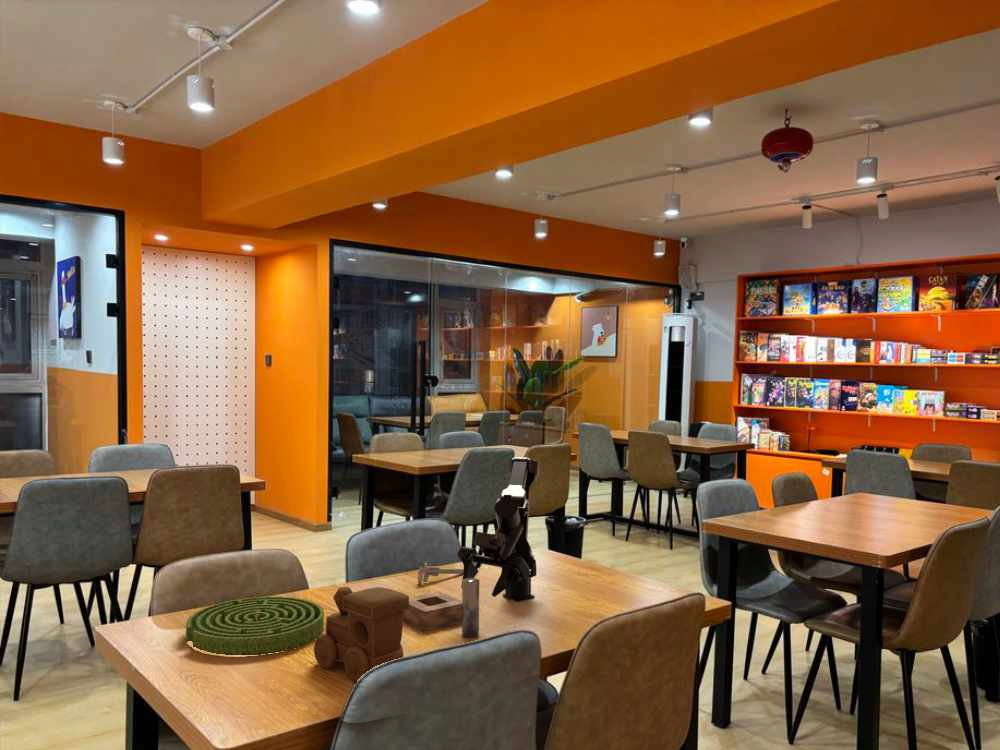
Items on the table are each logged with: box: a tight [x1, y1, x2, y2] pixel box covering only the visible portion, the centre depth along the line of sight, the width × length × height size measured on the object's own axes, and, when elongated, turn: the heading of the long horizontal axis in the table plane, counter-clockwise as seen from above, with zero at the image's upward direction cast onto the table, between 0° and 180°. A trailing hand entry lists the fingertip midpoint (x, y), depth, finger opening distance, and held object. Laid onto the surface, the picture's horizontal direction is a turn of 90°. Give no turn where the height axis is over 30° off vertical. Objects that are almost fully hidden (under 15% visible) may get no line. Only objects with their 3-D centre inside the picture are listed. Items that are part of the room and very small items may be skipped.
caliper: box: [417, 562, 464, 585], centre depth 233 cm, size 20×1×6 cm, turn 134°
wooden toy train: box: [313, 586, 410, 682], centre depth 163 cm, size 20×11×17 cm, turn 49°
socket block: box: [403, 591, 462, 633], centre depth 196 cm, size 14×14×4 cm
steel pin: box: [461, 577, 480, 639], centre depth 184 cm, size 4×4×13 cm
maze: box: [185, 596, 325, 655], centre depth 184 cm, size 31×31×5 cm
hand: (477, 592), depth 186 cm, fingers open, 9 cm apart
